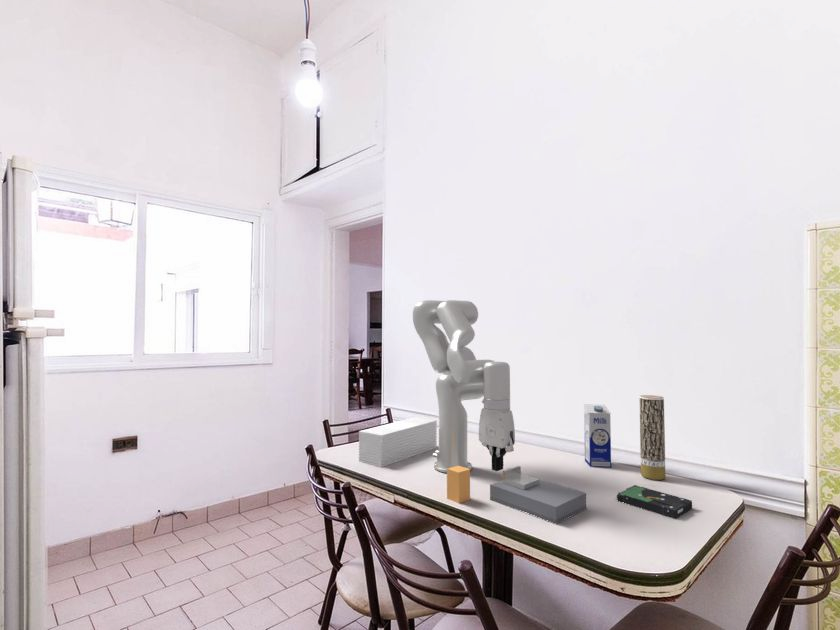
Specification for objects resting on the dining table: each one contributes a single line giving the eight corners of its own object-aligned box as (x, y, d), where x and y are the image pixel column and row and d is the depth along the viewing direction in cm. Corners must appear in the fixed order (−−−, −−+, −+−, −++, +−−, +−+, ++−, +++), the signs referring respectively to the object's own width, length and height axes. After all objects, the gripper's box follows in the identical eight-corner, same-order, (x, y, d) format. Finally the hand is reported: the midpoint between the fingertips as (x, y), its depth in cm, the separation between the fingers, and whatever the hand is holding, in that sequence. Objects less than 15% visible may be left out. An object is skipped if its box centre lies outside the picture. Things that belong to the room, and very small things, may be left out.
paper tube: (641, 472, 141) (640, 394, 142) (665, 476, 138) (664, 396, 139) (640, 478, 135) (638, 397, 136) (665, 482, 132) (663, 398, 133)
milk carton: (605, 461, 153) (604, 404, 154) (611, 467, 147) (610, 407, 147) (584, 461, 154) (583, 403, 155) (589, 466, 147) (589, 406, 148)
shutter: (502, 482, 119) (502, 470, 119) (518, 477, 124) (518, 465, 124) (524, 489, 114) (524, 477, 114) (539, 483, 118) (539, 471, 119)
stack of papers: (415, 443, 178) (415, 417, 179) (436, 448, 172) (436, 420, 172) (358, 462, 153) (359, 430, 153) (381, 467, 147) (381, 435, 147)
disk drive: (692, 511, 112) (634, 494, 124) (692, 500, 112) (634, 484, 124) (676, 522, 106) (616, 502, 117) (675, 510, 106) (616, 492, 117)
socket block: (490, 499, 118) (490, 484, 118) (521, 487, 127) (521, 473, 127) (556, 524, 103) (555, 506, 103) (586, 508, 112) (586, 492, 112)
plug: (447, 498, 119) (446, 468, 119) (458, 494, 122) (458, 465, 122) (458, 503, 115) (458, 472, 116) (470, 499, 118) (469, 469, 119)
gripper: (468, 403, 129) (469, 466, 128) (509, 409, 118) (510, 478, 117) (485, 400, 134) (486, 461, 133) (526, 406, 123) (527, 473, 122)
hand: (497, 469), depth 125 cm, fingers closed
